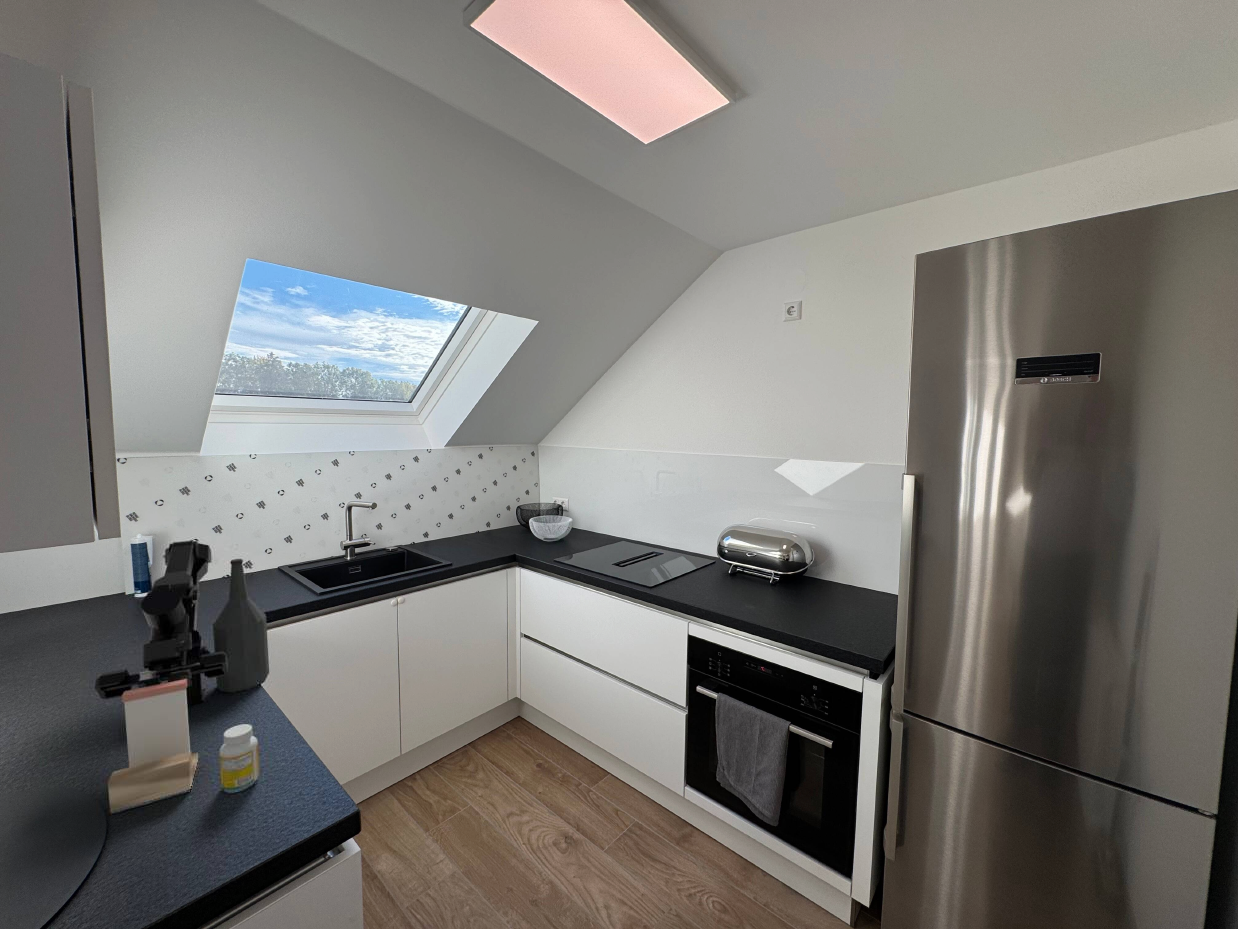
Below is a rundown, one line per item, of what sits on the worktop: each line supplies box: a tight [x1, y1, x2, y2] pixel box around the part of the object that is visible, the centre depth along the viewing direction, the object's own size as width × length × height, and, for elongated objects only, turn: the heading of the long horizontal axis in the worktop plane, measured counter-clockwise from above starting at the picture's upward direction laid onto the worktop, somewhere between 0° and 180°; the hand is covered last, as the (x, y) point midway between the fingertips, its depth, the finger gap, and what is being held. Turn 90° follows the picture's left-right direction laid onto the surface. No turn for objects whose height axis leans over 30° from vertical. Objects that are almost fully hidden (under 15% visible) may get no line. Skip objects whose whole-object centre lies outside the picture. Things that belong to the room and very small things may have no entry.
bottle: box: [212, 558, 270, 693], centre depth 126 cm, size 10×10×30 cm
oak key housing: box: [107, 751, 199, 812], centre depth 91 cm, size 10×10×6 cm
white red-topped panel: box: [121, 679, 191, 768], centre depth 94 cm, size 2×8×14 cm, turn 122°
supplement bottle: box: [219, 723, 260, 790], centre depth 92 cm, size 5×5×10 cm
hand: (162, 719), depth 97 cm, fingers closed
